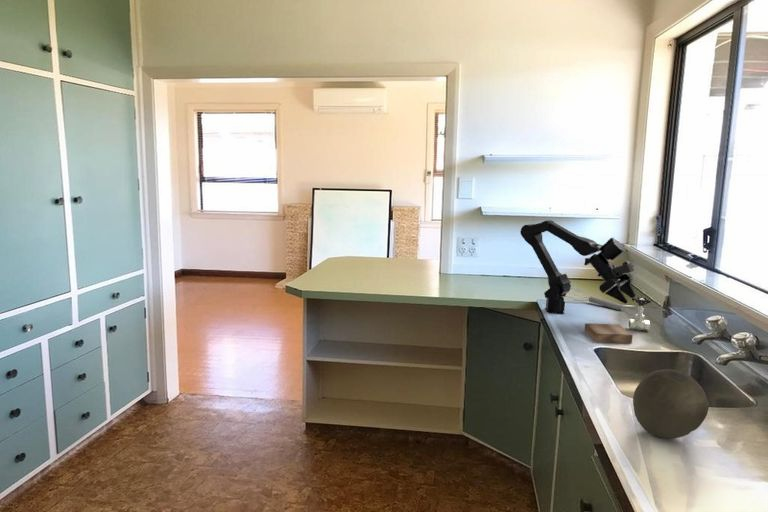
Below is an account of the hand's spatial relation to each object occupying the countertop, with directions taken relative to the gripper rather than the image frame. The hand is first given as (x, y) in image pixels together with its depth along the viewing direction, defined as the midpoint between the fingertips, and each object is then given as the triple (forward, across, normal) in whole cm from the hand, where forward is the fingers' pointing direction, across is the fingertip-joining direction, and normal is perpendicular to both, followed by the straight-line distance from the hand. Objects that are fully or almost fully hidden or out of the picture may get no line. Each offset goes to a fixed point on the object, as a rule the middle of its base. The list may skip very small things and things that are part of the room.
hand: (631, 300), depth 198 cm
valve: (+10, 0, +5) cm, 11 cm away
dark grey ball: (+33, -80, -17) cm, 88 cm away
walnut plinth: (+6, -17, +8) cm, 20 cm away
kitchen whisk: (-11, +26, +26) cm, 38 cm away
